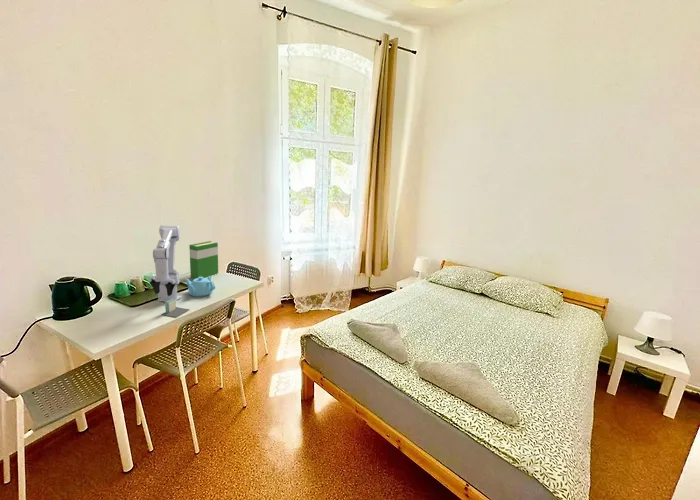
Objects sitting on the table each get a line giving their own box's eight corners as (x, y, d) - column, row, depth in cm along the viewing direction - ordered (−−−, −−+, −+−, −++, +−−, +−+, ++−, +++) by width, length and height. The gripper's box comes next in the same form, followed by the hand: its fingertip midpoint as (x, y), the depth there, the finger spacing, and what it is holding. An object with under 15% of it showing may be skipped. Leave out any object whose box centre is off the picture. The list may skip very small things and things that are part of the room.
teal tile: (165, 312, 167) (165, 302, 166) (172, 308, 172) (172, 298, 170) (169, 313, 167) (168, 302, 165) (175, 309, 171) (175, 299, 170)
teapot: (188, 299, 186) (188, 282, 184) (185, 291, 198) (184, 274, 196) (216, 295, 195) (215, 279, 192) (211, 287, 207) (210, 272, 204)
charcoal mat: (161, 314, 165) (161, 314, 165) (175, 307, 174) (175, 306, 174) (176, 317, 163) (176, 316, 163) (189, 310, 173) (189, 309, 173)
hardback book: (211, 271, 237) (210, 241, 231) (218, 273, 234) (217, 242, 228) (190, 277, 221) (189, 245, 216) (198, 280, 218) (196, 246, 213)
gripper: (143, 270, 162) (145, 294, 165) (168, 274, 160) (169, 299, 163) (154, 266, 169) (156, 290, 172) (178, 270, 166) (179, 294, 170)
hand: (163, 294), depth 168 cm, fingers open, 7 cm apart
